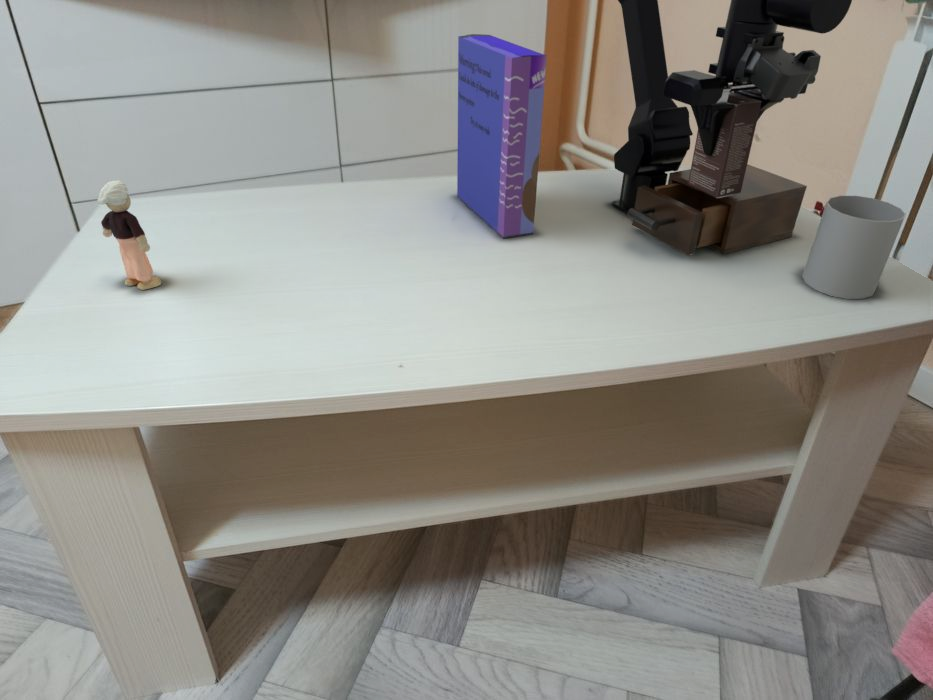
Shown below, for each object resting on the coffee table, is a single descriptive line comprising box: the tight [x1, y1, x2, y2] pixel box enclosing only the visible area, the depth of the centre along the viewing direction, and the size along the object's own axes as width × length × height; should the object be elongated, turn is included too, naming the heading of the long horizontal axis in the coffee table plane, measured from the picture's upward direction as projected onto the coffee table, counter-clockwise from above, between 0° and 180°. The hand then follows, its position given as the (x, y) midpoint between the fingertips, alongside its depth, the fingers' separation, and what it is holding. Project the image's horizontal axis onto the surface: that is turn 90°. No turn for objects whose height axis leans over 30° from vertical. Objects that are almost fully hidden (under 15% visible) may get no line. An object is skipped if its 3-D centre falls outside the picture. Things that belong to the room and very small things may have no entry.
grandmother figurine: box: [97, 179, 162, 291], centre depth 78 cm, size 8×4×13 cm, turn 71°
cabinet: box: [667, 163, 808, 255], centre depth 96 cm, size 14×13×8 cm
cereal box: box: [456, 33, 547, 239], centre depth 95 cm, size 17×5×24 cm, turn 23°
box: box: [688, 92, 762, 198], centre depth 86 cm, size 6×4×12 cm
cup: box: [801, 195, 906, 300], centre depth 81 cm, size 8×8×10 cm
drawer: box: [626, 182, 731, 256], centre depth 92 cm, size 17×11×6 cm
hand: (721, 152), depth 87 cm, fingers closed on box, 4 cm apart
